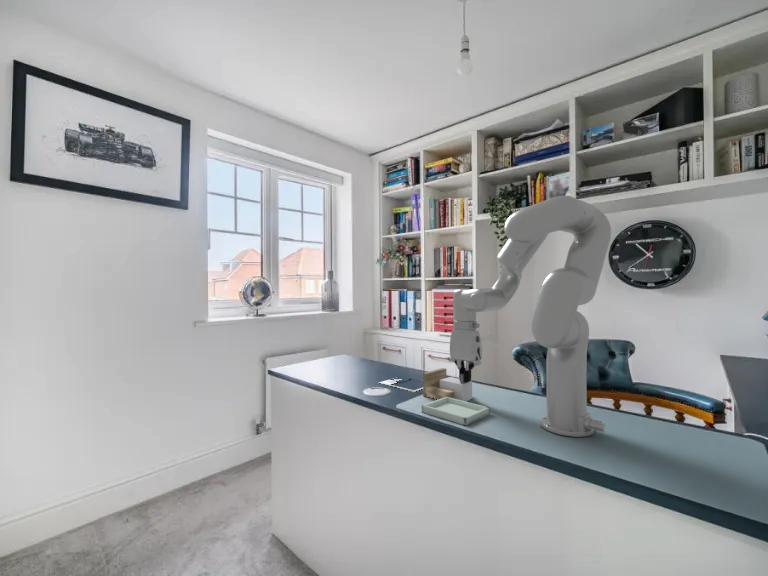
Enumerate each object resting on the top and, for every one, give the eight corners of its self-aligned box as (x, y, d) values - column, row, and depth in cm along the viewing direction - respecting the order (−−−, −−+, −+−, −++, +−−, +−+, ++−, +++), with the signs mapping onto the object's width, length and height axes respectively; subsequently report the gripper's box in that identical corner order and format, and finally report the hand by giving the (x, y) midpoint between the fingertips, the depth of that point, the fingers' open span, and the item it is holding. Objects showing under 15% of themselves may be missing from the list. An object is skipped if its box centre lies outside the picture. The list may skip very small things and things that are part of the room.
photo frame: (402, 375, 154) (437, 383, 141) (402, 378, 154) (437, 385, 141) (378, 382, 143) (414, 390, 131) (378, 384, 143) (414, 393, 131)
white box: (472, 399, 122) (472, 372, 122) (462, 403, 118) (461, 375, 118) (450, 393, 129) (449, 368, 129) (439, 397, 124) (439, 371, 125)
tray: (489, 414, 107) (489, 407, 107) (466, 425, 98) (466, 418, 98) (446, 402, 118) (446, 396, 118) (421, 411, 110) (421, 405, 110)
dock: (470, 396, 126) (470, 373, 126) (450, 403, 118) (450, 378, 118) (443, 389, 134) (443, 368, 134) (423, 396, 126) (423, 373, 126)
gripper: (491, 326, 118) (491, 383, 118) (452, 323, 129) (452, 375, 129) (479, 328, 113) (479, 387, 112) (439, 325, 124) (439, 379, 123)
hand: (465, 381), depth 121 cm, fingers closed on white box, 1 cm apart
